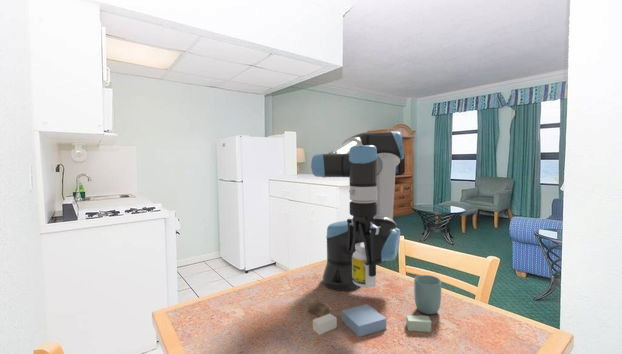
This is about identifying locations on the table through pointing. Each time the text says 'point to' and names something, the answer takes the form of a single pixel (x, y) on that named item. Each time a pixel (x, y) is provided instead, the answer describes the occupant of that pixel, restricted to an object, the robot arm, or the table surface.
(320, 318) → the cream brick
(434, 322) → the table surface
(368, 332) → the slab
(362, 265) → the pill bottle
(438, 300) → the cup
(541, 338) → the table surface
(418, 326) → the sage brick
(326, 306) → the walnut brick
